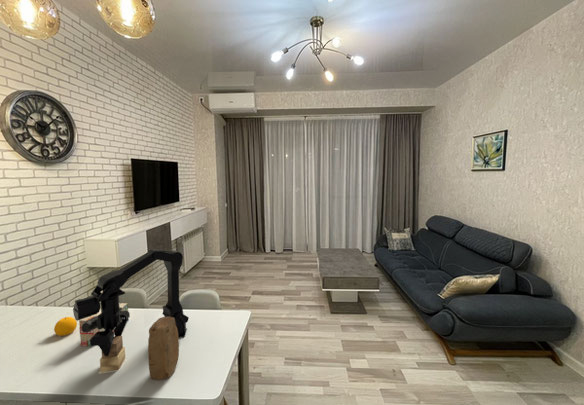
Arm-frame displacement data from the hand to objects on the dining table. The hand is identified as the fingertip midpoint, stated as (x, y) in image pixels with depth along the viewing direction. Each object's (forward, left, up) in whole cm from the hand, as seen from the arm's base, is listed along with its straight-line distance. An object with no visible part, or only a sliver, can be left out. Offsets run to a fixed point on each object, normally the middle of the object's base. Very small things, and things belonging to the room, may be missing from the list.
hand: (112, 347), depth 97 cm
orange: (+31, -29, -8) cm, 43 cm away
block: (-20, +7, -8) cm, 23 cm away
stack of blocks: (+13, -25, -8) cm, 30 cm away
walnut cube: (0, 0, -2) cm, 2 cm away
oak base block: (0, 0, -7) cm, 7 cm away
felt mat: (-2, -2, -8) cm, 8 cm away
